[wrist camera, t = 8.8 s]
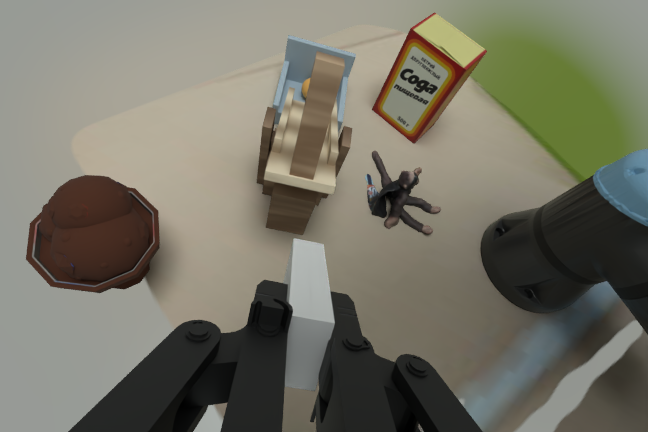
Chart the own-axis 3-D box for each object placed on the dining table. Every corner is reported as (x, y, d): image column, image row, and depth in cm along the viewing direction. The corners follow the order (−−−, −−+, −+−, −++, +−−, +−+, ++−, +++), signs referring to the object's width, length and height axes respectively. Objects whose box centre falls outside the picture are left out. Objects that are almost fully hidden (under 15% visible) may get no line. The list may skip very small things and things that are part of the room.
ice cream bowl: (56, 247, 40) (-30, 176, 27) (156, 211, 45) (124, 134, 32) (85, 332, 37) (4, 297, 24) (189, 283, 42) (169, 232, 29)
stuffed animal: (420, 251, 50) (382, 183, 45) (370, 246, 57) (334, 188, 53) (456, 199, 55) (425, 133, 50) (406, 201, 63) (376, 145, 58)
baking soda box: (372, 109, 61) (412, 25, 47) (392, 93, 64) (436, 10, 51) (413, 143, 60) (467, 67, 46) (432, 125, 63) (488, 48, 49)
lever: (333, 194, 35) (372, 75, 28) (263, 179, 34) (286, 51, 27) (332, 116, 51) (357, 27, 44) (285, 104, 50) (303, 11, 43)
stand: (321, 238, 48) (345, 194, 38) (246, 223, 47) (249, 173, 36) (329, 173, 53) (353, 118, 43) (263, 157, 52) (270, 97, 41)
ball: (316, 98, 60) (321, 77, 58) (322, 104, 58) (328, 83, 56) (296, 95, 59) (301, 73, 57) (303, 101, 56) (308, 79, 54)
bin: (336, 139, 56) (350, 102, 50) (270, 122, 55) (275, 83, 48) (342, 92, 62) (355, 54, 55) (282, 76, 60) (288, 35, 53)
